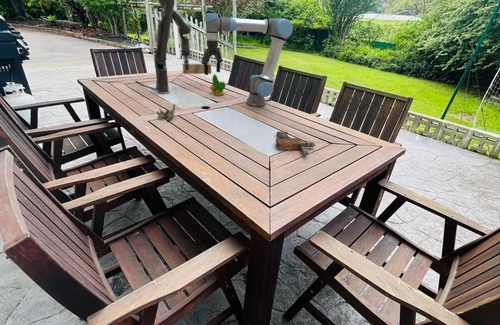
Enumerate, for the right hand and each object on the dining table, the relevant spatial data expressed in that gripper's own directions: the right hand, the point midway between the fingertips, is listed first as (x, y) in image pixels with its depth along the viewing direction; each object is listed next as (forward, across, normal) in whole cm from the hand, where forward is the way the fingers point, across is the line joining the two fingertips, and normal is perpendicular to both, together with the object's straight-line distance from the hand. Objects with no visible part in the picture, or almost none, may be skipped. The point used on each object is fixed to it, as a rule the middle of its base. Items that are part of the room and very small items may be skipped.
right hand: (212, 73), depth 183 cm
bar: (+14, +49, +56) cm, 76 cm away
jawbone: (+27, -33, +12) cm, 44 cm away
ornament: (+27, +40, +23) cm, 54 cm away
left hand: (+10, +42, +62) cm, 76 cm away
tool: (+27, -19, -76) cm, 83 cm away
